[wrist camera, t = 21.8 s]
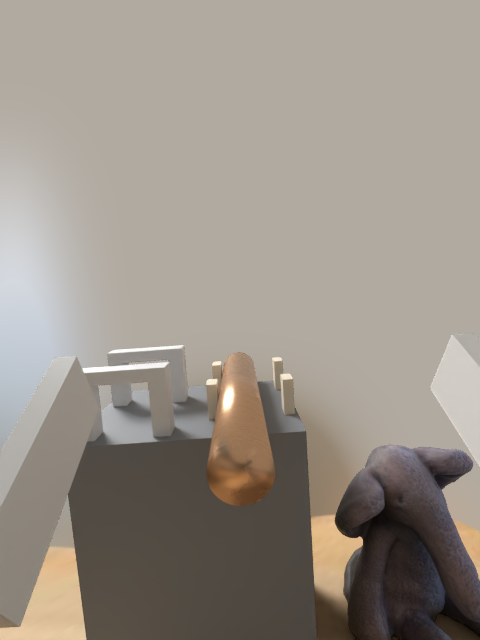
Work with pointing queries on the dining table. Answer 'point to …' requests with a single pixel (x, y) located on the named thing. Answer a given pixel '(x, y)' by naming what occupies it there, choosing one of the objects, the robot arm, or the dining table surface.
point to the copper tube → (240, 438)
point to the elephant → (406, 546)
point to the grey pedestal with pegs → (187, 514)
